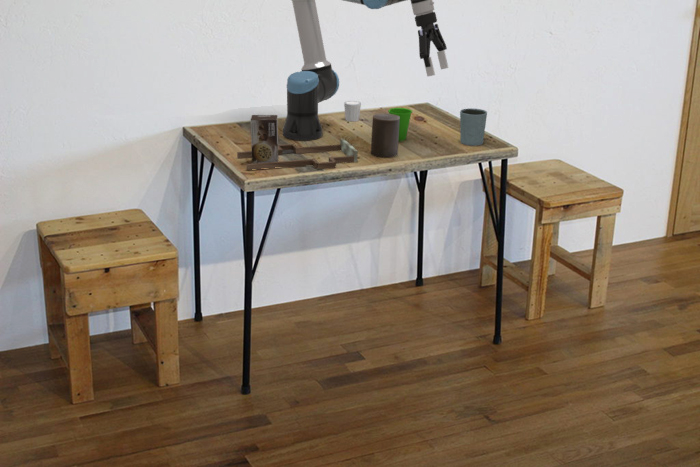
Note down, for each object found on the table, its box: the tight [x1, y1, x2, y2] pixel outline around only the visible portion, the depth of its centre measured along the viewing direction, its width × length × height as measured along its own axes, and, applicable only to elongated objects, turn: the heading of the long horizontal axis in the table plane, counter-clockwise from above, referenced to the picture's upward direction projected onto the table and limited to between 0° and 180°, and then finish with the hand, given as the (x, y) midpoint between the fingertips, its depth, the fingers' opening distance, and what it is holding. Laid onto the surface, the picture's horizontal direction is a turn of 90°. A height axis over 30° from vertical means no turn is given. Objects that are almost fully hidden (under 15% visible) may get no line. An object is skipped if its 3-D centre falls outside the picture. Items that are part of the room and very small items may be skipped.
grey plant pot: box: [459, 107, 488, 147], centre depth 342 cm, size 10×10×12 cm
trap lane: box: [236, 138, 359, 171], centre depth 318 cm, size 25×39×4 cm, turn 109°
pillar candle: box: [370, 112, 400, 158], centre depth 325 cm, size 10×10×15 cm
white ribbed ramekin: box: [343, 100, 362, 122], centre depth 369 cm, size 7×7×7 cm
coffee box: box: [250, 114, 279, 164], centre depth 312 cm, size 9×6×16 cm
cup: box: [387, 107, 413, 142], centre depth 344 cm, size 9×9×11 cm
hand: (438, 72), depth 329 cm, fingers open, 13 cm apart
